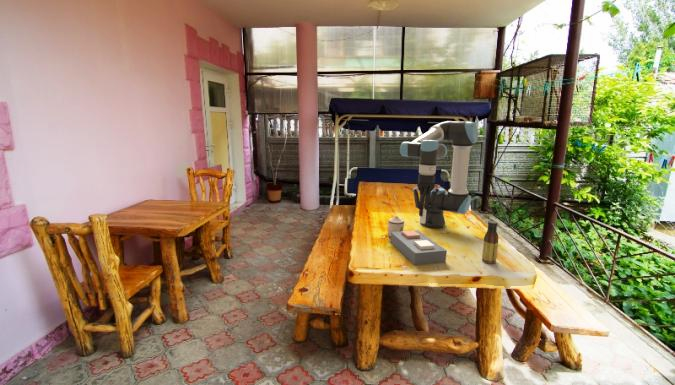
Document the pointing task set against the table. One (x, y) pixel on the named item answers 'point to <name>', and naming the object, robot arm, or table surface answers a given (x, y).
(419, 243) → the ivory key
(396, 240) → the key box
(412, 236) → the terracotta key
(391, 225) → the teacup with lid
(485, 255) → the sauce bottle
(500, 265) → the table surface
